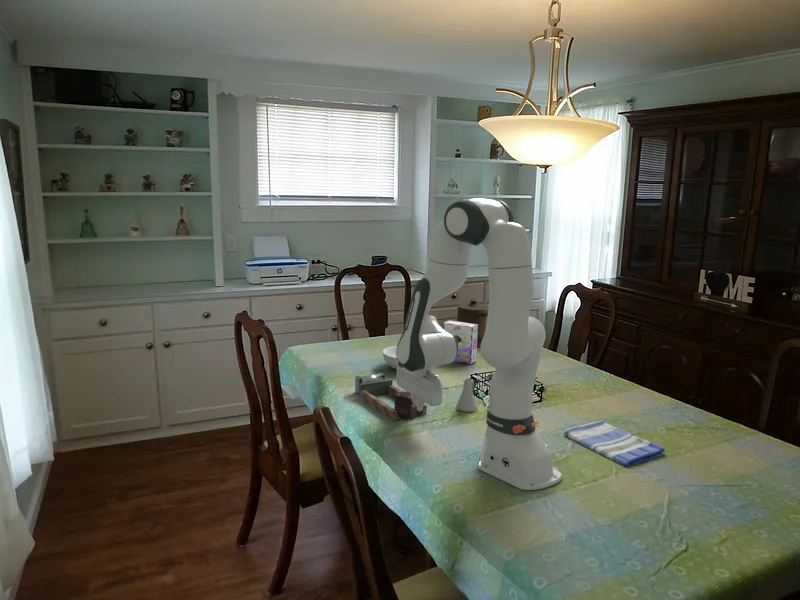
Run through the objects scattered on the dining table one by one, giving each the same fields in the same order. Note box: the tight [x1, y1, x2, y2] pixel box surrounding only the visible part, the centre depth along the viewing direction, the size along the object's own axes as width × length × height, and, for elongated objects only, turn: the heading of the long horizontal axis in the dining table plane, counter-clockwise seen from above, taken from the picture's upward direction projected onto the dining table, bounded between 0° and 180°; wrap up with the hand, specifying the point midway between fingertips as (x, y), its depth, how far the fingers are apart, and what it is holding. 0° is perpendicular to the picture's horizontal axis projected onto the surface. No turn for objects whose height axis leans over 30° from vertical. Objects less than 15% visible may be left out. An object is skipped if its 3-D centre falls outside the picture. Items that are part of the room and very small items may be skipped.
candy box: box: [442, 319, 478, 365], centre depth 246 cm, size 14×6×16 cm, turn 58°
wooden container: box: [456, 297, 489, 348], centre depth 273 cm, size 15×15×22 cm
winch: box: [354, 371, 386, 396], centre depth 206 cm, size 4×10×6 cm, turn 121°
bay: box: [358, 377, 428, 422], centre depth 193 cm, size 24×12×5 cm, turn 31°
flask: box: [455, 378, 478, 413], centre depth 192 cm, size 7×7×10 cm
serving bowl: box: [382, 345, 398, 370], centre depth 235 cm, size 21×21×7 cm
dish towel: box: [563, 420, 666, 467], centre depth 168 cm, size 17×24×3 cm
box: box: [394, 389, 420, 421], centre depth 185 cm, size 6×6×7 cm
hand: (417, 409), depth 178 cm, fingers closed
